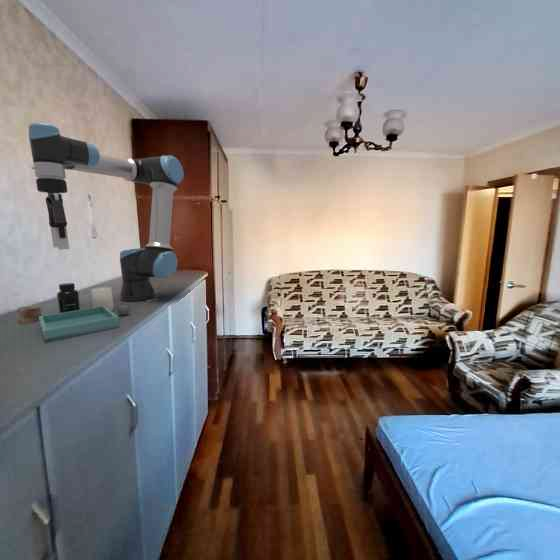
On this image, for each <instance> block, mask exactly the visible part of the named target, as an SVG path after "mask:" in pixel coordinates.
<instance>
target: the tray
mask: <svg viewBox="0 0 560 560" xmlns="http://www.w3.org/2000/svg"><path fill="white" fill-rule="evenodd" d="M119 319H120V318H119V316H118V315H117V314H116V313H115V312H113V310H112V311H111V310H109V309H108V308H107V307H106V306H99V307H94V306H93V307H88V308H87V307H86V308H82V309H81V308H80V310H75V311H69V312H63V313H59V312H57V313H52V314H45V315H41V316H39V321H38V323H39V327H40V330H41V332H42V336H43V339H44V342H45V343H49V342H55V341H59V340H64V339H68V338H73V337H79V336H83V335H88V334H93V333H97V331H98V332H103V331H106V330H110V329H111V330H112V329H116V328H117V329H118V328H120V320H119ZM102 330H103V331H102Z"/></svg>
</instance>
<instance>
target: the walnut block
mask: <svg viewBox="0 0 560 560" xmlns="http://www.w3.org/2000/svg"><path fill="white" fill-rule="evenodd" d="M17 312H18V319H19V322H20V323H21V322H22V324H24V325H27V324H28V325H29V324H32V323H37V322H39V316H42V311H41V307H40V306H37V305H31V306H24V307H20V308H17Z"/></svg>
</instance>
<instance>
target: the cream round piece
mask: <svg viewBox="0 0 560 560" xmlns="http://www.w3.org/2000/svg"><path fill="white" fill-rule="evenodd" d="M112 289H113V288H112V287H111V286H100V287H96V288H92V289H90V290H91V297H92V299H91V300H92V305H93V307H99V306H106V307H107V308H108V309H109V310H111V311H112V312H113V311H114V310H115V308H114V307H115V305H114V298H113V290H112Z"/></svg>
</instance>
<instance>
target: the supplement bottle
mask: <svg viewBox="0 0 560 560" xmlns="http://www.w3.org/2000/svg"><path fill="white" fill-rule="evenodd" d="M58 289H59V290H60V291H57V294H56V300H57V306H58V313H63V312H69V311H75V310H81V304H80V303H81V302H80V294H79V291H78V290H77V289H76V286H75V283H74V282H69V283H68V282H67V283H60V284H59V285H58Z"/></svg>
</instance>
